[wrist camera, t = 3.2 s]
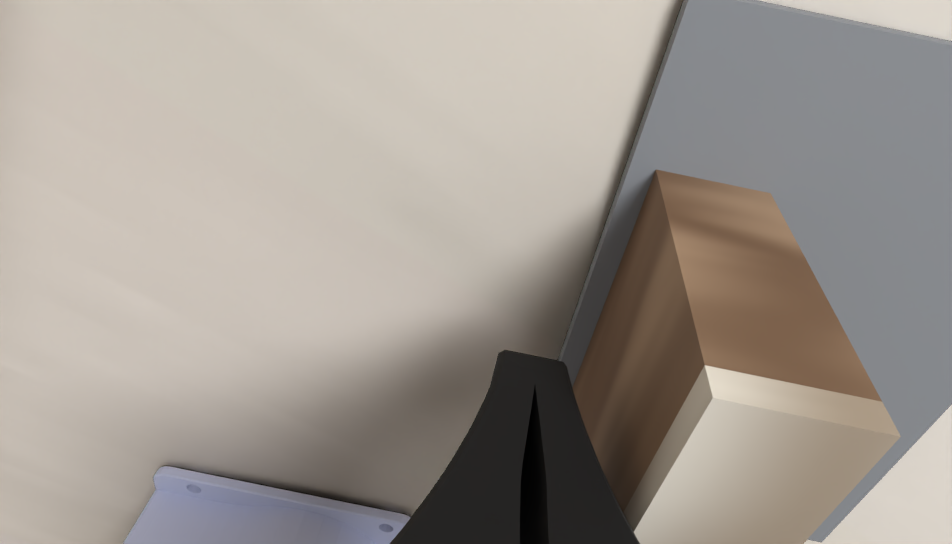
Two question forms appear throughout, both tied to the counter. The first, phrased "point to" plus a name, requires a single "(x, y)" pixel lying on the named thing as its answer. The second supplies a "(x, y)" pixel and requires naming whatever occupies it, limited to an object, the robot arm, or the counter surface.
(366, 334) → the counter surface
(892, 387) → the mat
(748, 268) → the slab
